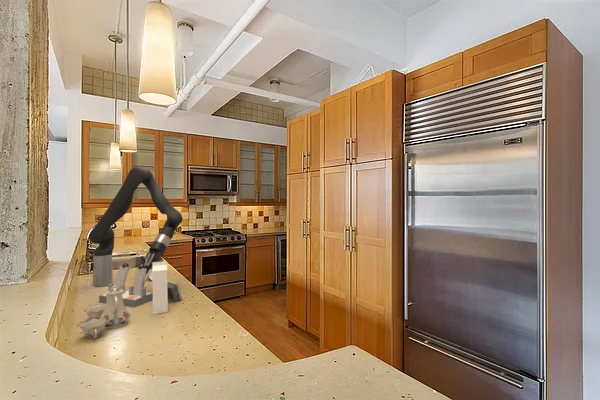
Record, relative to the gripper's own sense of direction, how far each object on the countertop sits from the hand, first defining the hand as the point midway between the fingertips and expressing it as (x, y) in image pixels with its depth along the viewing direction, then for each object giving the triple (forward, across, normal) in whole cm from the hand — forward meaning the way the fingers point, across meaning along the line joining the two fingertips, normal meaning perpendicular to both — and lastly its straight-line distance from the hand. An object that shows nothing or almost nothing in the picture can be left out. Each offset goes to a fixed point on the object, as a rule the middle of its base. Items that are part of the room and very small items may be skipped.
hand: (143, 273), depth 156 cm
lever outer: (+9, 0, +4) cm, 10 cm away
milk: (+16, +18, +2) cm, 25 cm away
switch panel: (+12, -7, +6) cm, 15 cm away
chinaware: (+30, +10, -12) cm, 34 cm away
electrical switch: (+7, +14, +12) cm, 19 cm away
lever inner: (+9, -13, +4) cm, 16 cm away
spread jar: (-14, -22, +33) cm, 42 cm away
